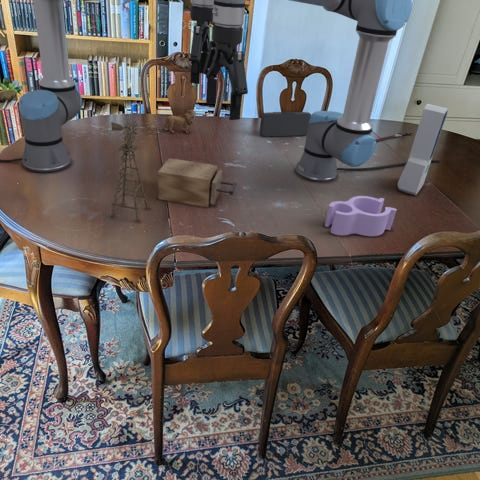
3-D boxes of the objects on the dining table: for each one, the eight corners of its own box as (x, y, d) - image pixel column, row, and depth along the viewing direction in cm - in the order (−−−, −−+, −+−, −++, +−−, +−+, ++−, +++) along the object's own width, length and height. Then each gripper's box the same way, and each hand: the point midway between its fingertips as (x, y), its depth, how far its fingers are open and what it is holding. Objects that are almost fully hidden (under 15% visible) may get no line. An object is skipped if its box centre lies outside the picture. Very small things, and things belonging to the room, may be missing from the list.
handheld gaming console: (306, 133, 210) (309, 111, 204) (308, 135, 207) (312, 113, 202) (258, 134, 202) (261, 112, 197) (260, 137, 200) (263, 114, 195)
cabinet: (215, 191, 154) (217, 165, 149) (207, 207, 145) (209, 180, 139) (168, 184, 155) (169, 157, 150) (158, 199, 146) (158, 171, 141)
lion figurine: (193, 128, 201) (194, 107, 196) (196, 133, 197) (197, 112, 192) (159, 129, 196) (159, 108, 192) (162, 134, 192) (162, 112, 187)
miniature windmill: (137, 222, 133) (134, 119, 117) (109, 216, 134) (102, 114, 118) (149, 207, 141) (147, 109, 125) (122, 202, 142) (117, 104, 126)
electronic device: (415, 196, 164) (443, 113, 148) (394, 190, 167) (419, 107, 151) (423, 185, 173) (451, 105, 157) (404, 179, 176) (428, 100, 160)
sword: (407, 132, 223) (408, 129, 223) (413, 134, 221) (413, 131, 221) (364, 143, 208) (365, 141, 207) (370, 146, 206) (370, 143, 205)
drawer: (236, 193, 152) (239, 172, 148) (231, 207, 144) (233, 185, 140) (177, 183, 154) (177, 162, 150) (168, 197, 146) (168, 175, 142)
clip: (337, 240, 135) (342, 219, 131) (318, 218, 145) (322, 198, 141) (395, 233, 141) (402, 213, 137) (373, 213, 151) (378, 194, 147)
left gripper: (207, 12, 129) (203, 89, 141) (221, 3, 150) (217, 71, 161) (181, 8, 129) (178, 86, 141) (199, 0, 150) (195, 68, 162)
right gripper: (192, 16, 120) (190, 98, 132) (239, 35, 103) (232, 128, 114) (218, 16, 124) (214, 96, 135) (268, 35, 106) (258, 125, 118)
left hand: (199, 78), depth 151 cm, fingers open, 13 cm apart
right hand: (222, 111), depth 125 cm, fingers open, 13 cm apart
